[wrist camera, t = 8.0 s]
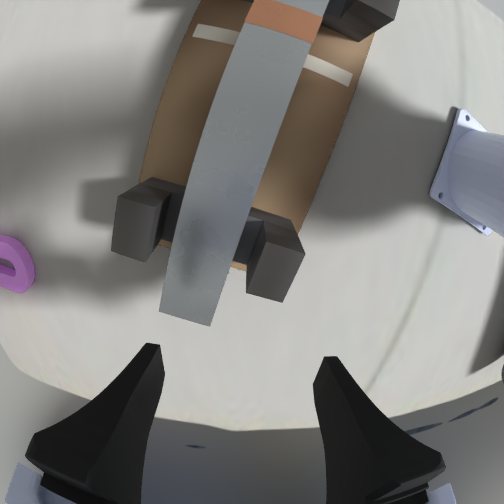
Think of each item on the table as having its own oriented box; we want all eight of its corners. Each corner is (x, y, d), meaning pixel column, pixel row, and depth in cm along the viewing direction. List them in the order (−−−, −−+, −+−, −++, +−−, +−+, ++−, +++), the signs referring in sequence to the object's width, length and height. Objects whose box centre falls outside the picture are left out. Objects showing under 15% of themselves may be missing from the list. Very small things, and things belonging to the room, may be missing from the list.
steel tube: (333, -22, 9) (348, -45, 6) (215, 296, 18) (210, 326, 15) (283, -39, 8) (290, -65, 6) (170, 283, 17) (158, 311, 15)
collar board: (380, 6, 11) (418, -21, 6) (276, 276, 20) (285, 326, 15) (230, -45, 10) (224, -88, 5) (132, 232, 18) (97, 270, 13)
